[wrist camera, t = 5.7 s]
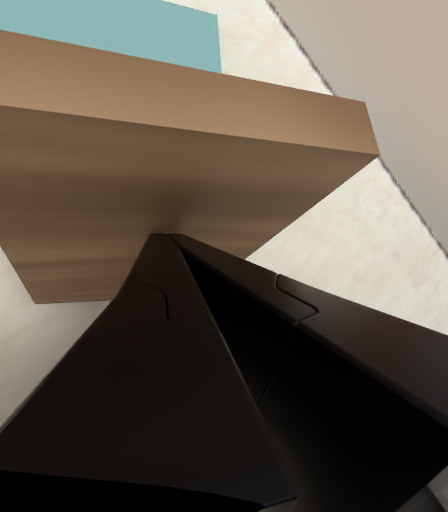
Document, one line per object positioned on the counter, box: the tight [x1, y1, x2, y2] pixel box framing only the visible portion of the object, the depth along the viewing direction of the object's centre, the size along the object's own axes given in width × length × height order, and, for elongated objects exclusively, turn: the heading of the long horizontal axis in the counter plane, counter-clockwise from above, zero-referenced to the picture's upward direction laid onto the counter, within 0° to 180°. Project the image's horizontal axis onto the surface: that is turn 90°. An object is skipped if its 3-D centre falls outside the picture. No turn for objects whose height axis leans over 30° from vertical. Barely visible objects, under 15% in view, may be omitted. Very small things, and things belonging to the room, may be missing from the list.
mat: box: [0, 0, 221, 73], centre depth 17 cm, size 13×11×1 cm
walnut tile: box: [0, 30, 380, 304], centre depth 11 cm, size 1×7×12 cm, turn 94°
